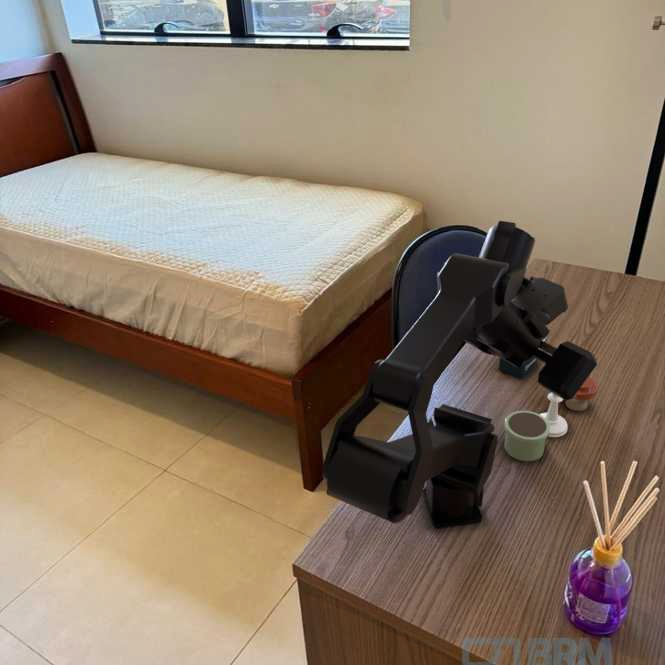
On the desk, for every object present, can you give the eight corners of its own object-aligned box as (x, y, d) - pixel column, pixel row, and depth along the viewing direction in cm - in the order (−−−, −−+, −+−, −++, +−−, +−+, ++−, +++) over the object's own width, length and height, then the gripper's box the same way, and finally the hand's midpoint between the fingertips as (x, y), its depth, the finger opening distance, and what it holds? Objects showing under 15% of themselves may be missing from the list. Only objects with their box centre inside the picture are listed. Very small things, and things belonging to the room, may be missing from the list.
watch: (532, 383, 102) (540, 327, 96) (489, 366, 106) (494, 312, 101) (548, 367, 105) (556, 313, 99) (505, 351, 110) (511, 298, 104)
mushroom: (567, 417, 94) (572, 392, 92) (553, 396, 98) (557, 372, 96) (599, 413, 94) (605, 388, 92) (584, 392, 99) (589, 368, 96)
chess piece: (527, 420, 94) (534, 368, 89) (554, 412, 95) (564, 360, 90) (545, 440, 90) (554, 387, 85) (574, 432, 91) (585, 379, 86)
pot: (511, 465, 86) (514, 441, 84) (496, 436, 92) (498, 413, 89) (553, 460, 87) (557, 436, 84) (536, 431, 92) (539, 407, 89)
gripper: (600, 292, 67) (644, 352, 77) (481, 245, 81) (531, 301, 91) (540, 375, 67) (591, 424, 77) (432, 313, 81) (487, 361, 91)
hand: (547, 372), depth 84 cm, fingers open, 9 cm apart
